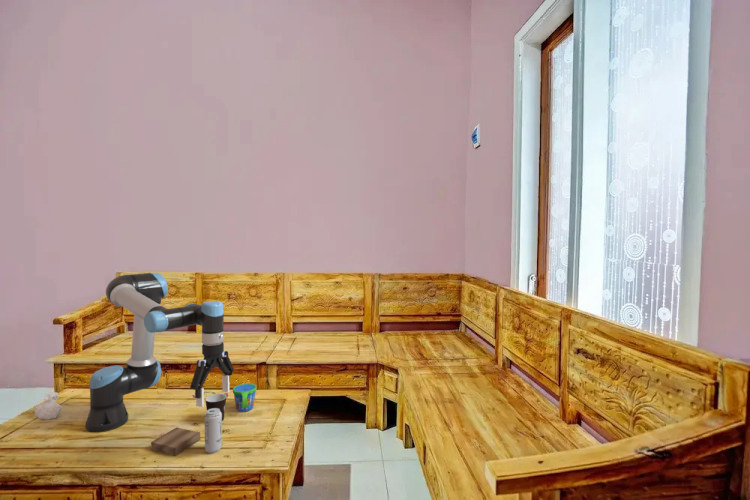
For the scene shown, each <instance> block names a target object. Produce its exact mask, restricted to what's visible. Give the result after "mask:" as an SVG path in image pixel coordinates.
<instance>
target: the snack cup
mask: <svg viewBox="0 0 750 500" xmlns="http://www.w3.org/2000/svg"><path fill="white" fill-rule="evenodd" d="M256 391H257V385H256V384H254V383H241V384H239V385H236V386H234V387H233V388H232V394H233V397H234V401H235V402H234V403H235V408H236V411H237V412H242V413H243V412H244V413H245V412H249V411H251V410H253V408H254V406H255V405H254V403H255V399H256Z"/></svg>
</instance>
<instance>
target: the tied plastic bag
mask: <svg viewBox="0 0 750 500" xmlns="http://www.w3.org/2000/svg"><path fill="white" fill-rule="evenodd" d="M58 399H59V393H58V392H57V391H53V392H49V393H48V394H45V396H44V398H43V400H44V401H45V402H42V403H39V404H37V405H36V406H35V409H34V415H35V417H36V418H38V419H39V420H52V419H56V418H58V415H59V414H60V412H61V411H62V409H63V407H62V406H61V404H59V403H57V402H56V400H58Z"/></svg>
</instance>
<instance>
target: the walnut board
mask: <svg viewBox="0 0 750 500" xmlns="http://www.w3.org/2000/svg"><path fill="white" fill-rule="evenodd" d="M199 441H201V431H200V432H199V431H196V430H192V429H191V430H190V429H186V428H181V427H174V428H172V429H171V430H169V431H168V432H166V433H165V434H163V435H161V436H160V437H157V438H156V439H154V440H152V441H151V442H150V450H151V451H153V452H158V453H162V454H166V455H170V456H174V457H176V456H178V455H180V454H181V453H183V452H185V451H186V450H188V449H189V448H191V447H192V446H194V445H195V444H197V443H199Z"/></svg>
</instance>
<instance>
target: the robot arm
mask: <svg viewBox="0 0 750 500" xmlns="http://www.w3.org/2000/svg"><path fill="white" fill-rule="evenodd" d="M168 293H169V285H168V283H167V280H166V277H164V276H163V275H162V274H161V273H159V272H147V273H145V272H144V273H134V274H133V273H132V274H123V275H118V276H117V277H114V278H113V279H111V281H110V282H108V284H107V287H106V289H105V297H106V298H107V300H108V301H109V302H110V303H111V304H112V305H114V306H116V307H122V308H124V309H125V310H127V311H129V312H130V313H132V314H133V327H132V341H131V355H130V357H129V358H128V359H127V360H126V366H124V367H123V366H122V365H118V364H117V365H116V364H115V365H112V366H111V365H110V366H106V367H102V368H100V369H98V370H96V371H94V373H93V374H91V376H90V378H89V380H90V381H89V385H88V386H89V395H90V396H89V397H90V398H89V401H90V405H89V407H90V410H89V412H88V415H87V419H86V421H85V430H86V431H88V432H91V433H101V432H107V431H110V430H114V429H117V428H119V427H121V426H123V425H125V424H126V423H127V422H128V421H129V412H128V410H127V408H126V406H125V403H124V396H125V395H129V394H133V393H135V392H138V391H141V390H147V389H149V388H151V387H153V386H156V385H157V384H158V383H159V381H160V379H161V376H162V368H161V367H162V366H161V364H160V361H158V360H157V358H156V357H155V356H154V350H155V339H156V338H155V336H156V335H155V333H162V332H166V331H169V330H174V329H179V328H180V329H181V328H185V327H189V326H190V327H191V326H195V325H197V326H200V327H201V344H202V345H201V354H202V355H203V359H202V360H201V359H200V360H197V361H196V367H195V371H194V374H193V378H192V379H191V384H190V385H189V389H191V390H194V397H195V400H196V401H195V404H196V407H200V408H203V407H205V396H204V394H205V393H204V392H205V391H204V390H205V389H204V387H203V386H204V384H205V382H206V380H207V378H208V376H209V373H210V372H211V371H212V370H214V369H215V368H218V369H219V370H220V371H221V373H223V374H222V375H221V376H222V377H221V378H222V381H221V383H222V384H221V386H222V392H223V393H230V382H231V376H233V373H234V370H235V369H234V366H233V364H232V362H231V359H230V356H229V352H228V351H227V350H225V349H224V348H225V346H224V324H225V323H224V321H225V320H224V312H225V311H224V304H223V302H222V301H220V300H219V301H218V300H209V301H204V302H202V303H201V304H197V303H188V304H185V306H180V307H174V308H167V307H165V306H163V305H161V304H162V299H165V298H166V297H167V295H168Z"/></svg>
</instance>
